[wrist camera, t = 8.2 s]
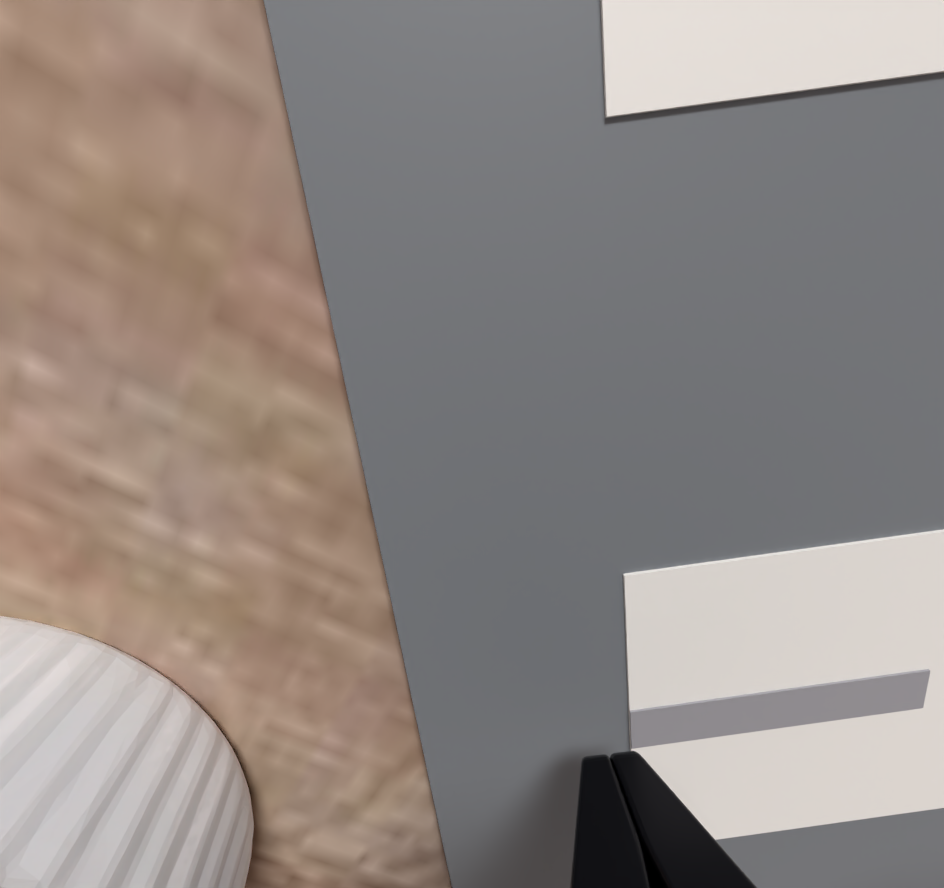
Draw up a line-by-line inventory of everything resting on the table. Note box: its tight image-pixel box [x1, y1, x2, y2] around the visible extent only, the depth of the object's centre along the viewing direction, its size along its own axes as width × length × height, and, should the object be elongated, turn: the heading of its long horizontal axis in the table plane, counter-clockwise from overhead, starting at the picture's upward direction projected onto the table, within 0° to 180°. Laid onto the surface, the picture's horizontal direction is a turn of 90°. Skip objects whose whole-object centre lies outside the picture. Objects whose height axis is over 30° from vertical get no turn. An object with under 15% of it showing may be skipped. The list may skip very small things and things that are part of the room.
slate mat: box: [264, 0, 944, 888], centre depth 7 cm, size 14×24×1 cm, turn 7°
